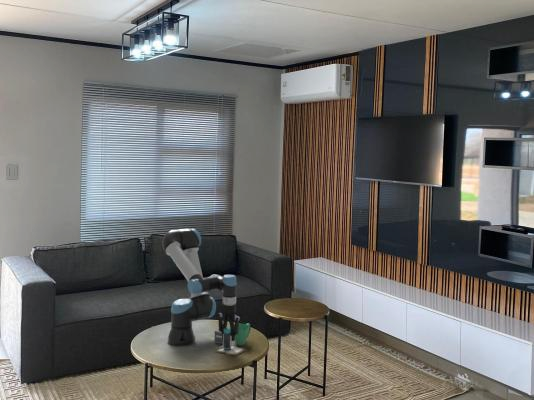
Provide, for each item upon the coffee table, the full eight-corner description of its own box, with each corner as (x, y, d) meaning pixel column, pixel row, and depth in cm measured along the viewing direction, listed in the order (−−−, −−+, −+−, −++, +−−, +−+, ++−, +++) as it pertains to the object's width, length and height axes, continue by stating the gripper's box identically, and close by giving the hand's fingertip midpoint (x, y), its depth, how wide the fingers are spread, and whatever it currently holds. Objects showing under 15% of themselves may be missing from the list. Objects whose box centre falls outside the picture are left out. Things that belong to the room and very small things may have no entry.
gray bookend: (213, 342, 322) (213, 331, 321) (216, 340, 324) (216, 330, 324) (225, 344, 318) (225, 334, 317) (228, 343, 320) (228, 332, 320)
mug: (243, 347, 314) (243, 330, 313) (228, 344, 318) (228, 327, 317) (256, 340, 327) (256, 323, 326) (241, 337, 331) (241, 320, 330)
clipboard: (215, 351, 307) (215, 349, 307) (225, 345, 316) (226, 343, 316) (235, 356, 301) (235, 354, 301) (246, 350, 310) (246, 347, 310)
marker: (226, 346, 312) (227, 327, 311) (232, 348, 310) (233, 328, 309) (221, 349, 309) (222, 329, 308) (227, 350, 306) (228, 330, 305)
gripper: (212, 302, 308) (211, 344, 311) (238, 307, 301) (237, 350, 303) (219, 299, 315) (219, 340, 317) (245, 304, 307) (244, 346, 309)
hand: (228, 345), depth 310 cm, fingers closed on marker, 4 cm apart
